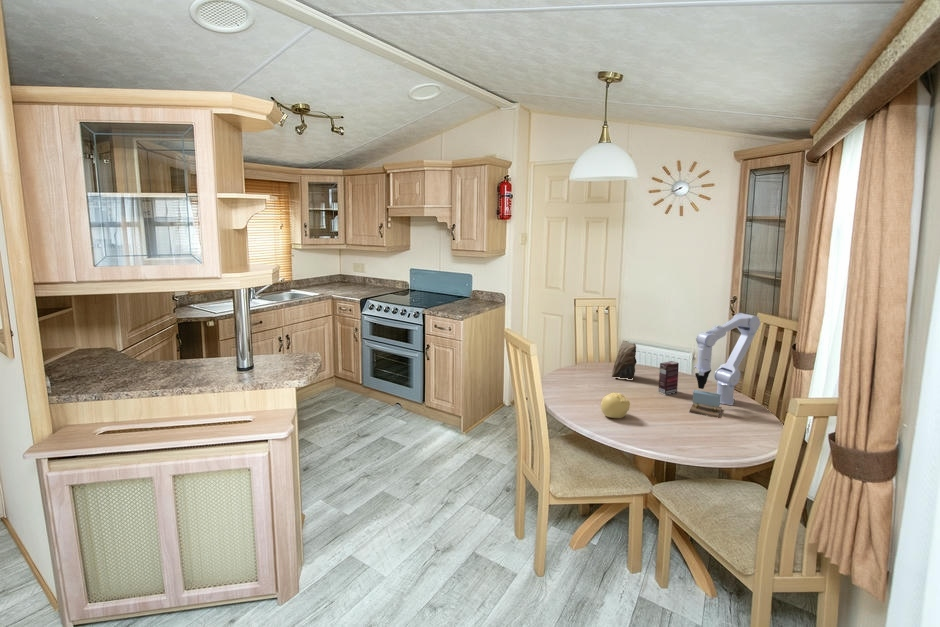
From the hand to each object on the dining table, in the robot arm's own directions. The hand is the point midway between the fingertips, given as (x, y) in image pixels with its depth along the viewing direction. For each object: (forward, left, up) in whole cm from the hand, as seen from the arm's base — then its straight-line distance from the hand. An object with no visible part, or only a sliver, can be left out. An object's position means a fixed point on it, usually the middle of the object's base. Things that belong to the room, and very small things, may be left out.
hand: (702, 386), depth 236 cm
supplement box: (-11, -17, -10) cm, 23 cm away
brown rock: (-24, -44, -10) cm, 51 cm away
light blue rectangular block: (+5, +3, -6) cm, 9 cm away
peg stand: (+5, +3, -10) cm, 11 cm away
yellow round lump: (+33, -31, -10) cm, 47 cm away
